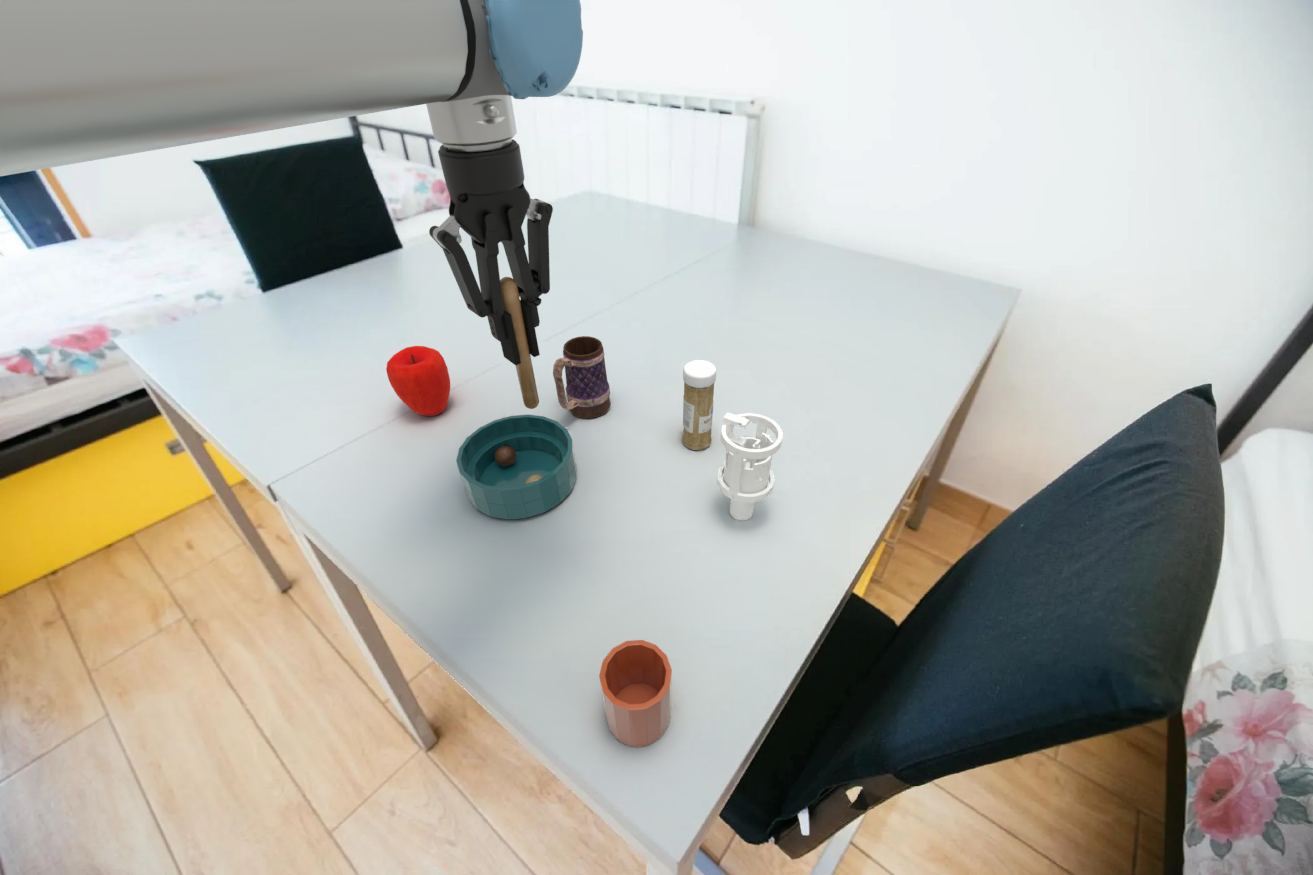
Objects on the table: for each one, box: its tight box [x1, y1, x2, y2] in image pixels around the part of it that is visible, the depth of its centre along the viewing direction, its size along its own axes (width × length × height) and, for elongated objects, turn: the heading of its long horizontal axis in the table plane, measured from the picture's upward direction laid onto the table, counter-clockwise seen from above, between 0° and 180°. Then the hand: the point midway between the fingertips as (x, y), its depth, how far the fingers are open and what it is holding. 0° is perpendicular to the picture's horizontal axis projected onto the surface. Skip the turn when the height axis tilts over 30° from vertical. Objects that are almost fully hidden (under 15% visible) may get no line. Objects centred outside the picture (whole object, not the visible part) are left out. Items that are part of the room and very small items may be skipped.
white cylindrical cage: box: [716, 412, 784, 522], centre depth 67 cm, size 7×7×15 cm
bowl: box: [456, 414, 577, 520], centre depth 75 cm, size 15×15×6 cm
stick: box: [500, 276, 540, 410], centre depth 65 cm, size 2×2×18 cm
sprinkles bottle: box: [681, 359, 717, 451], centre depth 78 cm, size 5×5×14 cm
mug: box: [552, 335, 611, 419], centre depth 85 cm, size 10×7×12 cm
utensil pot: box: [598, 639, 673, 748], centre depth 50 cm, size 6×6×8 cm
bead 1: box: [495, 446, 516, 467], centre depth 77 cm, size 3×3×3 cm
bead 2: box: [525, 474, 543, 484], centre depth 73 cm, size 3×3×3 cm
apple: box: [386, 345, 451, 417], centre depth 86 cm, size 9×9×11 cm
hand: (521, 355), depth 66 cm, fingers closed on stick, 2 cm apart
